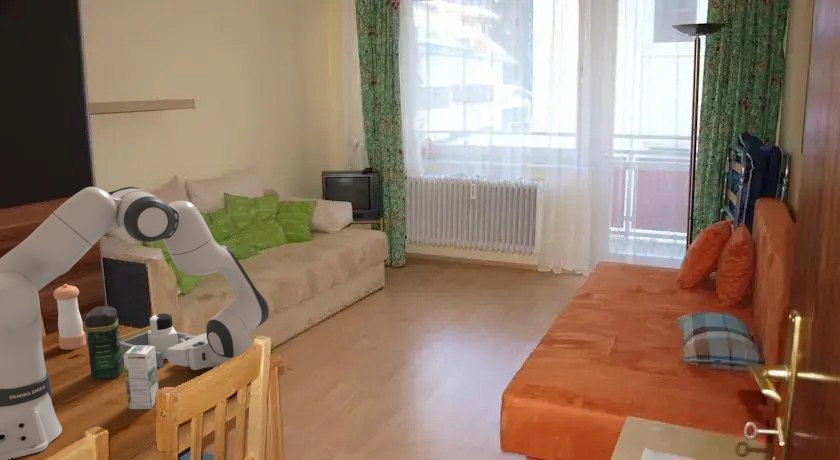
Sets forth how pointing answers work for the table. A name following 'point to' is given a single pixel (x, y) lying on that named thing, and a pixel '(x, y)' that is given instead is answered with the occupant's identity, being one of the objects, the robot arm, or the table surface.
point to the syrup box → (141, 376)
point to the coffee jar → (104, 343)
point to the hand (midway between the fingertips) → (182, 340)
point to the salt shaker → (69, 318)
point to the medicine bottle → (162, 333)
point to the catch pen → (143, 342)
